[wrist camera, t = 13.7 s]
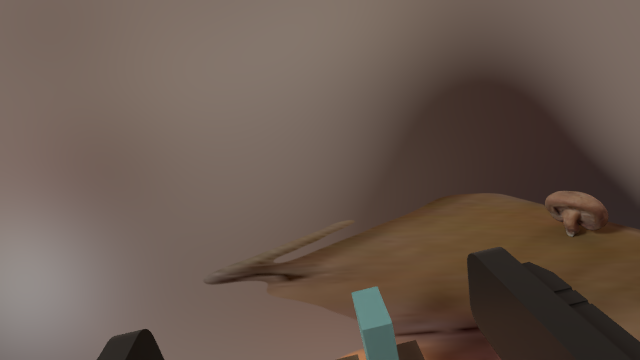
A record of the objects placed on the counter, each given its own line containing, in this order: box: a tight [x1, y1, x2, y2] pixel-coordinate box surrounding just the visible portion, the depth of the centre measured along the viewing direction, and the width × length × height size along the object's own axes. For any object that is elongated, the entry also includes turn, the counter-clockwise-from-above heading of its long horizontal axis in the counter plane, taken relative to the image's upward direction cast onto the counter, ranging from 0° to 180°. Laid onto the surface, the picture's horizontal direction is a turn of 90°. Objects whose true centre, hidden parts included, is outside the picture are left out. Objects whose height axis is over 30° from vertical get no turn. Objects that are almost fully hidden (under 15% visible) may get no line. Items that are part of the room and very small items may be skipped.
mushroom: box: [545, 191, 608, 237], centre depth 54 cm, size 8×6×8 cm
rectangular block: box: [352, 287, 399, 360], centre depth 33 cm, size 2×5×12 cm, turn 6°
